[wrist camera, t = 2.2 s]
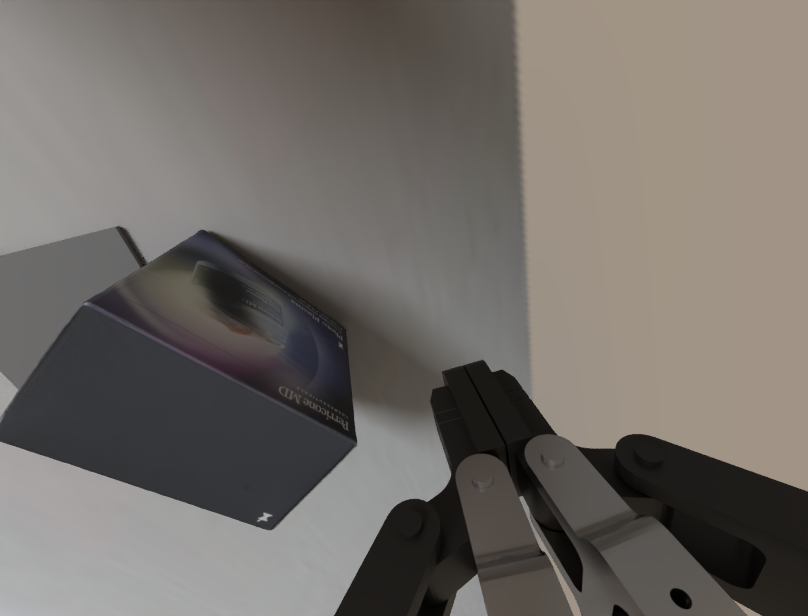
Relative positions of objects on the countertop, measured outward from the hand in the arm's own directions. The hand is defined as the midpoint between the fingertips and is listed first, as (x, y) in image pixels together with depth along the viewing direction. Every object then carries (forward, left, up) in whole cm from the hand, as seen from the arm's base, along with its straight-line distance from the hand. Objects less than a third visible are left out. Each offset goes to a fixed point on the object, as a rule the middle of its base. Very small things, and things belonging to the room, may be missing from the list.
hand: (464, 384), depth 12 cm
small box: (0, -10, -11) cm, 15 cm away
